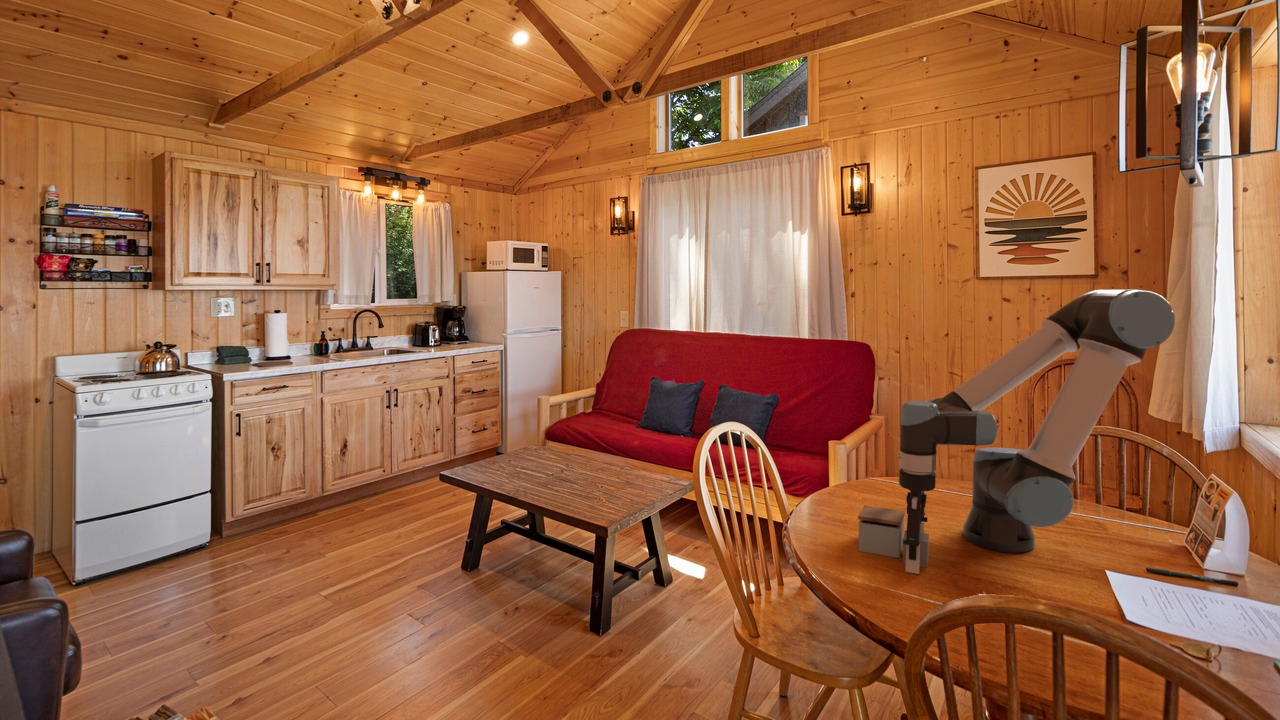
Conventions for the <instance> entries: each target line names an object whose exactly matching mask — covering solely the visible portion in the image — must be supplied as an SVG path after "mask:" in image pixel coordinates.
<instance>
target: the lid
mask: <svg viewBox="0 0 1280 720" xmlns="http://www.w3.org/2000/svg"><path fill="white" fill-rule="evenodd" d="M862 507H863V508H861V511H860V512H859V513H858V515H857V520H859V521H860V520H867V521H873V522H880V523H887V524H894V525H901V523H902V521H903V518H904V519H905V514H906V510H901V509H894V508H893V509H892V508H887V507H880V506H871V505H864V506H862Z"/></svg>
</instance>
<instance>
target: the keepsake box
mask: <svg viewBox="0 0 1280 720" xmlns="http://www.w3.org/2000/svg"><path fill="white" fill-rule="evenodd" d="M904 519H905V517H904V518H903V521H902V523H901V525H894V524H887V523H880V522H873V521H867V520H860V519H859V521H858V550H857V551H858V552H862V553H868V554H873V555H874V554H875V555H879V556H885V557H890V558H891V557H892V558H898V559H900V557H901V551H902V550H903V538H904V534H905V530H904V527H905V526H904V525H905V524H904V523H905V520H904Z"/></svg>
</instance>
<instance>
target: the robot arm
mask: <svg viewBox="0 0 1280 720" xmlns="http://www.w3.org/2000/svg"><path fill="white" fill-rule="evenodd" d="M1175 316H1176V315H1175V312H1174V311H1173V308H1172V305H1171V304H1170V302H1169V301H1168V300H1167V299H1166V298H1165V297H1164V296H1163V295H1160V294H1159V293H1156V292H1153V291H1150V290H1143V289H1142V290H1141V289H1138V288H1131V289H1130V288H1129V289H1097V290H1093V291H1088V292H1087V293H1084V294H1082V295H1080V296H1078V297H1076V298H1074V299H1072V300H1071V301H1070V302H1068V303H1066V304H1065V305H1063V306H1061V307H1060V308H1059V309H1058V310H1056V311H1055V312H1053V313H1052V314H1051V315H1049V316H1048V317H1047V318H1045V319H1043V320H1042V322H1041V327H1039V329H1038V330H1036V331H1035V332H1033V333H1032V334H1031V335H1029V336H1027V337H1026V338H1025V339H1023V340H1022V341H1020V342H1019V343H1018V344H1016V345H1014V346H1013V348H1010V349H1009V350H1008V351H1006V352H1005V353H1003V354H1002V355H1001V356H999V357H998V358H997V359H995V360H994V361H993V362H991V363H989V364H988V365H987V366H985V367H984V368H983V369H981V370H980V371H979V372H977V373H976V374H974V375H973V376H971V377H970V378H969V379H967V380H965V382H963V383H962V384H960V385H959V386H958V387H956V388H954V389H953V390H952V391H949V393H947V394H946V395H945V396H943V397H935V398H932V399H930V400H927V401H925V400H924V401H921V400H910V401H906V402H904V403H903V404H902V406H901V410H900V419H899V430H900V432H899V433H900V434H899V441H900V442H899V443H900V444H899V445H900V447H899V453H897V454H896V457H897V458H898V459H899V468H900V469H899V471H898V472H899V473H898V484H899V486H900V487H901V488H903V489H907V490H908V492H907V495H906V514H907V522H906V531H907V534H906V540H903V544H906V564H905V572H906V573H910V574H918V575H920V566H919V563H920V542H919V538H920V533H925V523H928V517H926V513H925V509H926V503H927V494H926V493H925V492H930V491H931V492H932V491H934V490H935V488H936V477H937V476H936V473H935V472H936V470H937V458H938V457H937V455H938V454H937V449H938V448H937V447H938V445H939V446H976V447H978V446H990V445H992V444H994V443H995V441H996V440H997V438H998V421H997V419H996V417H995V415H994V414H993V413H992V412H990V411H983V410H985V409H986V408H987V407H989V406H990V405H992V404H993V403H994V402H996V401H998V400H999V399H1000V398H1002V397H1003V396H1005V395H1006V394H1008V393H1009V392H1011V391H1012V390H1013V389H1016V387H1018V386H1019V385H1020V384H1022V383H1024V382H1025V381H1026V380H1028V379H1029V378H1031V377H1032V376H1033V375H1035V374H1037V373H1038V372H1039V371H1041V370H1042V369H1044V368H1045V367H1046V366H1048V365H1049V364H1051V363H1053V362H1054V361H1055V360H1057V359H1058V358H1059V357H1061V356H1062V355H1063V354H1066V353H1075V352H1077V351H1079V349H1080V350H1081V351H1080V353H1079V354H1078V356H1077V358H1076V360H1075V361H1074V363H1073V365H1072V367H1071V368H1070V371H1069V372H1068V375H1067V377H1066V378H1065V380H1064V382H1063V384H1062V385H1061V388H1060V390H1059V392H1057V395H1056V397H1055V399H1053V402H1052V404H1051V406H1050V408H1049V410H1048V411H1047V414H1046V415H1045V417H1044V418H1043V421H1042V423H1041V424H1040V427H1039V428H1038V430H1037V431H1036V434H1035V436H1034V437H1033V439H1032V441H1031V442H1030V445H1029V447H1027V448H1024V449H1019V448H1010V447H982V448H978V449H976V450H975V451H974V454H973V460H972V464H973V467H972V471H973V472H972V503H971V509H970V511H969V513H968V515H967V517H966V520H965V522H964V525H963V534H962V535H963V537H964V539H965V540H966V541H967V542H968V543H971V544H973V545H974V546H978V547H979V548H983V549H986V550H990V551H994V552H999V553H1001V552H1002V553H1009V554H1012V553H1013V554H1014V553H1015V554H1018V553H1019V554H1020V553H1026V552H1029V551H1032V550H1033V549H1035V545H1036V544H1035V543H1036V541H1035V540H1036V539H1035V538H1036V537H1035V534H1034V530H1033V527H1036V528H1047V527H1050V526H1054V525H1057V524H1059V523H1062V522H1064V521H1065V519H1067V517H1068V516H1069V515H1070V514H1071V512H1072V510H1073V507H1074V497H1073V492H1072V491H1071V487H1072V485H1073V483H1074V482H1075V479H1076V475H1075V473H1074V470H1073V466H1074V464H1075V462H1076V460H1077V458H1078V457H1079V455H1080V453H1081V451H1082V450H1083V448H1084V446H1085V444H1086V443H1087V440H1088V439H1089V437H1090V435H1091V434H1092V432H1093V429H1094V428H1095V426H1096V424H1097V423H1098V421H1099V419H1100V417H1101V415H1102V413H1103V412H1104V410H1105V408H1106V406H1107V405H1108V403H1109V401H1110V399H1111V398H1112V396H1113V394H1114V392H1115V390H1116V389H1117V387H1118V385H1119V383H1120V381H1121V380H1122V378H1123V376H1124V374H1125V373H1126V371H1127V368H1128V367H1129V366H1132V365H1135V364H1139V363H1141V362H1142V360H1143V358H1144V357H1145V355H1146V353H1147V352H1148V349H1150V348H1154V347H1156V346H1158V345H1161V344H1163V343H1164V342H1166V341H1167V340H1168V339H1169V337H1171V335H1172V333H1173V332H1174V328H1175V325H1176V324H1175V323H1176V317H1175ZM912 539H915V540H912Z"/></svg>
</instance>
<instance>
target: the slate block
mask: <svg viewBox="0 0 1280 720" xmlns="http://www.w3.org/2000/svg"><path fill="white" fill-rule="evenodd" d="M906 534H907V529H905V530H904V536H903V540H906ZM929 537H930V534H929V533H926V532H924V533H920V538H919V542H920V563H919V567H923V568H928V565H929V564H928V562H929V541H930V539H929ZM912 540H915V539H912ZM902 564H904V565H906V544H903V545H902Z"/></svg>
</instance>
